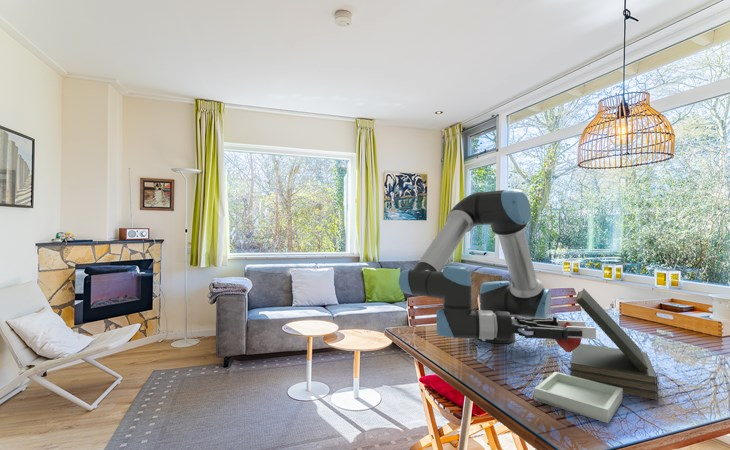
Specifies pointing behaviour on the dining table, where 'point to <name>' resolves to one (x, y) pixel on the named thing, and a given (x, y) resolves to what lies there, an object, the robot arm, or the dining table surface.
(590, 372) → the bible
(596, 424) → the dining table surface
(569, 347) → the onion
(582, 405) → the tray
